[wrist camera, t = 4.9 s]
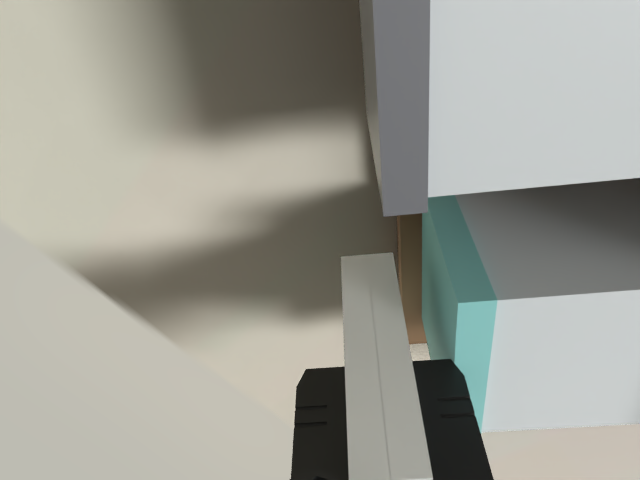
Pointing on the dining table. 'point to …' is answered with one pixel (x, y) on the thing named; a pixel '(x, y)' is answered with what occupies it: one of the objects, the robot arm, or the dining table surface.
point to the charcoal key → (499, 95)
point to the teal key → (538, 302)
